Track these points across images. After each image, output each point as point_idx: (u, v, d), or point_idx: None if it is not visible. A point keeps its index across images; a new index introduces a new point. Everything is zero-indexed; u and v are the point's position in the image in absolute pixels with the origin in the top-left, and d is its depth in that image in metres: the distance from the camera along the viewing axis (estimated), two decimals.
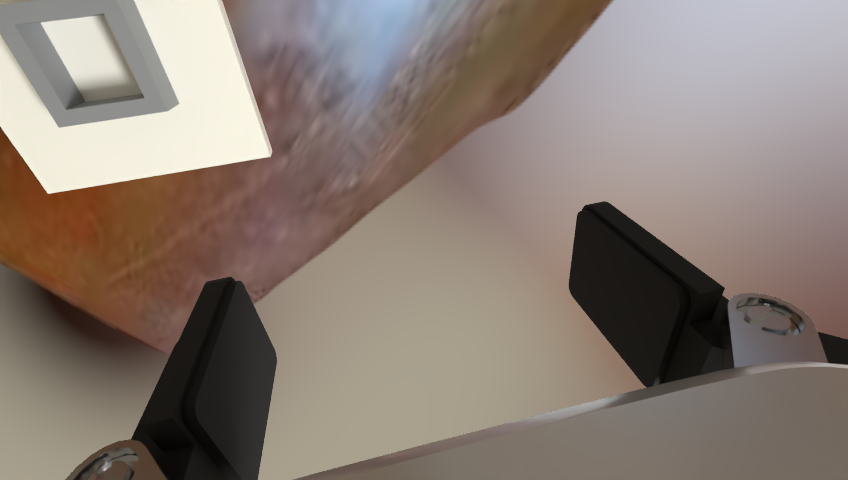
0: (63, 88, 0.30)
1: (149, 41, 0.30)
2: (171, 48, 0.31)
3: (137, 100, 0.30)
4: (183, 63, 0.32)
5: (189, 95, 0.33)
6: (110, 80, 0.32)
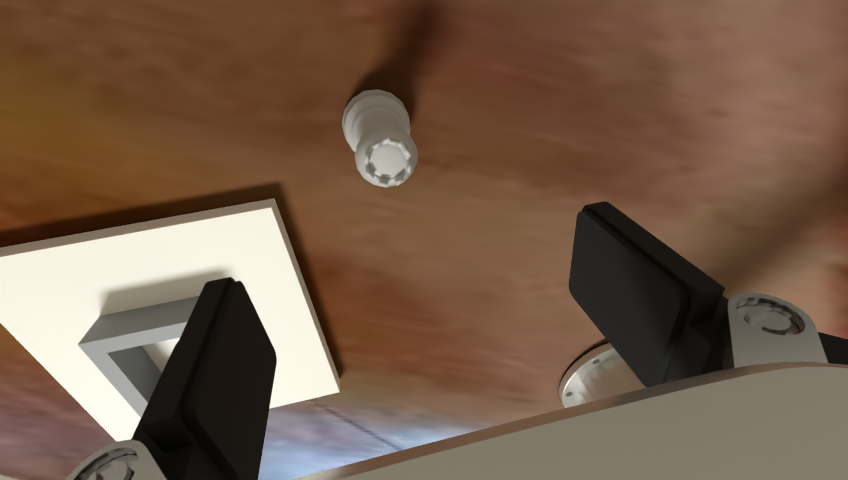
0: None
1: None
2: None
3: (144, 400, 0.29)
4: None
5: None
6: (161, 344, 0.30)
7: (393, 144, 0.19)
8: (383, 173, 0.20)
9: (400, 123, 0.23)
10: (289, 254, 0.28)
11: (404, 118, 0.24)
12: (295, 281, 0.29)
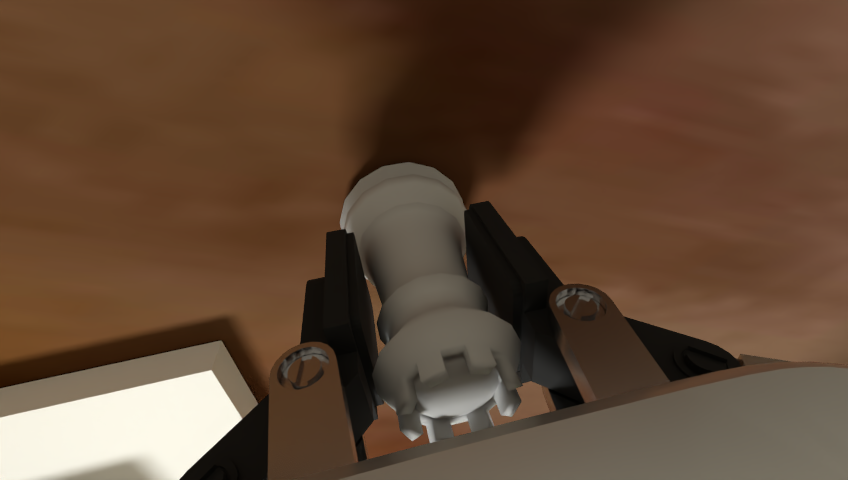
0: None
1: None
2: None
3: None
4: None
5: None
6: None
7: (478, 372, 0.07)
8: (444, 414, 0.08)
9: (457, 237, 0.12)
10: None
11: (461, 220, 0.12)
12: None
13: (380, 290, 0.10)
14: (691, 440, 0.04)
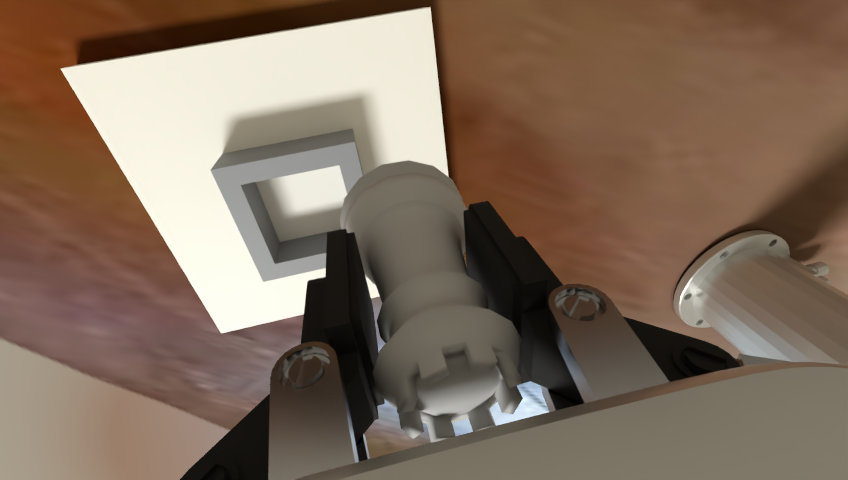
0: None
1: None
2: None
3: (270, 257, 0.25)
4: None
5: None
6: (283, 199, 0.26)
7: (479, 369, 0.07)
8: (445, 412, 0.08)
9: (457, 235, 0.12)
10: (437, 80, 0.24)
11: (461, 218, 0.12)
12: (438, 119, 0.25)
13: (380, 288, 0.10)
14: (691, 440, 0.04)
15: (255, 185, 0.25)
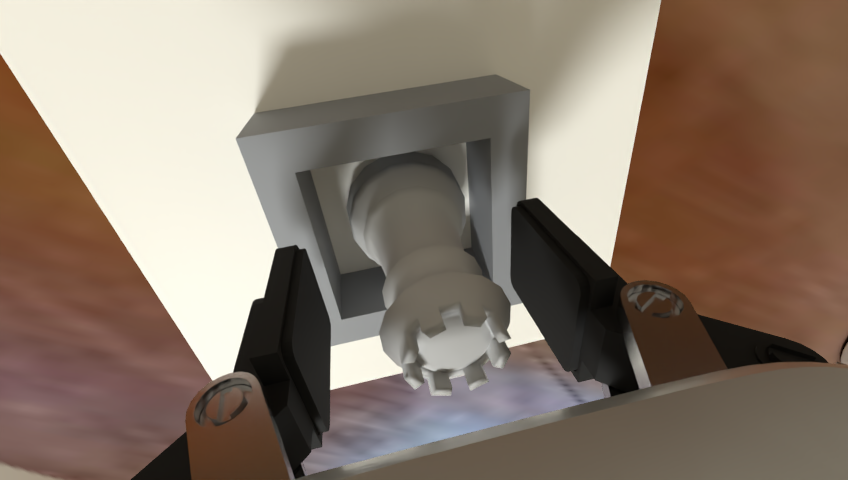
0: None
1: None
2: None
3: (335, 308, 0.14)
4: None
5: None
6: None
7: (472, 324, 0.08)
8: (443, 367, 0.09)
9: (455, 218, 0.13)
10: None
11: (458, 203, 0.13)
12: (642, 63, 0.14)
13: (384, 264, 0.11)
14: (691, 440, 0.04)
15: (310, 176, 0.14)
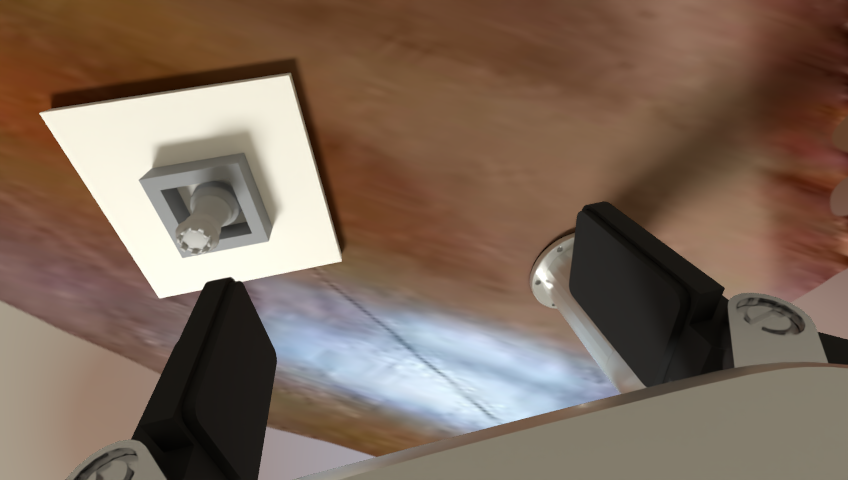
0: None
1: None
2: None
3: None
4: (227, 250, 0.40)
5: None
6: None
7: (193, 231, 0.30)
8: (194, 247, 0.31)
9: (224, 205, 0.35)
10: (302, 121, 0.35)
11: (230, 200, 0.36)
12: (306, 146, 0.36)
13: None
14: (691, 440, 0.04)
15: (176, 190, 0.36)
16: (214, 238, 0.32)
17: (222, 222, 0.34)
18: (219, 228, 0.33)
